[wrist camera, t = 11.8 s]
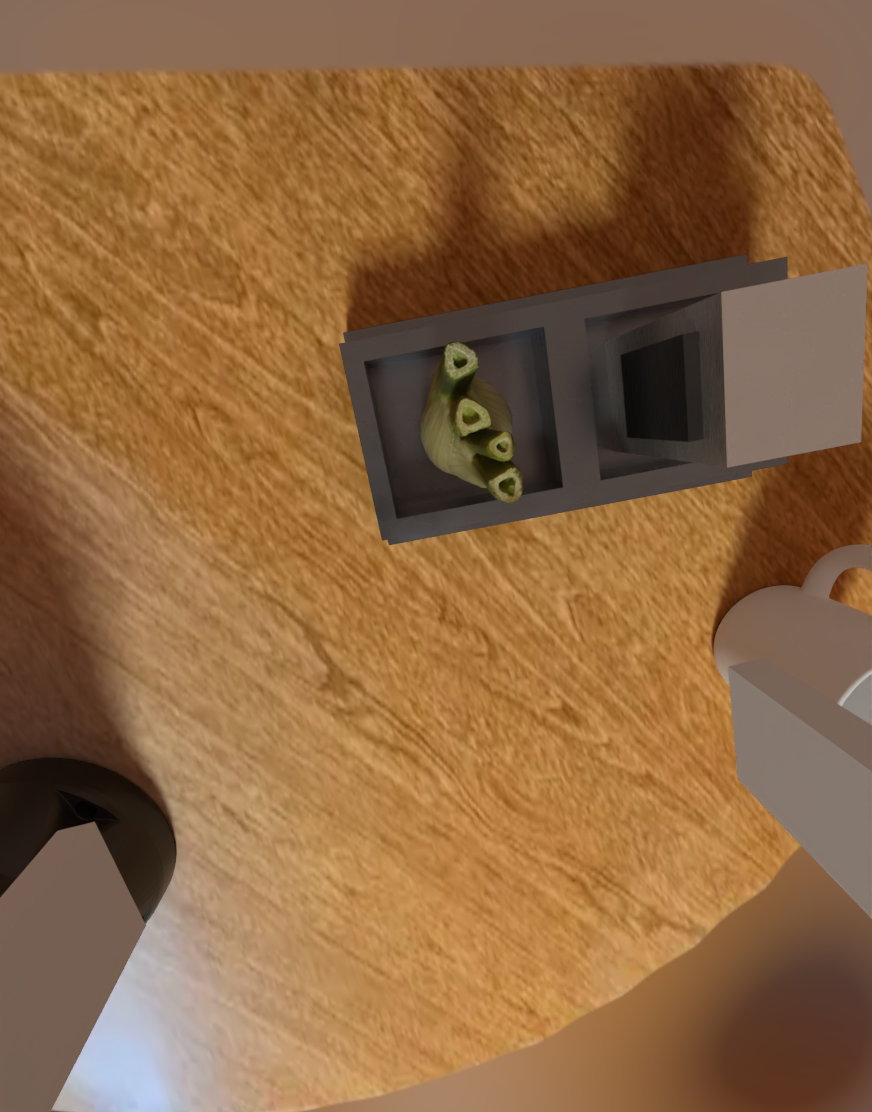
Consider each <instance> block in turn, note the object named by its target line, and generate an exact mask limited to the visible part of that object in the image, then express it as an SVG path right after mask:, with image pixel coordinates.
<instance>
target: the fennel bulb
mask: <svg viewBox="0 0 872 1112" xmlns="http://www.w3.org/2000/svg"><path fill="white" fill-rule="evenodd" d="M478 368H479V365H478V357H477V355H476V353H475V351H474V350H473V349H470V348H469V347H468V346H467V345H466V344H462V343H460V342H450V343H448V344H447V345H446V346H445V349H444V351H443V355H442V360H441V361H439V362H438V363H437V367H436V369H435V371H434V373H433V378H432V382H431V387H430V391H429V393H428V397H427V401H426V404H425V406H424V410H423V412H422V416H421V420H420V435H421V442H422V444H423V447H424V449H425V452H426V454H427V456H428V458H429V459H430V460H431V461H432V462H433V463H434V465H435V466H436V467H437V468H438V469H441V470H442V471H444V472H446V473H448V474H453V475H455V476H457V477H459V478H461V479H462V480H465V481H467V482H470V483H472V484H475V485H477V486H479V487H481V488H488V490H489V492H490V493H491V494H492V495H493V496H494V497H495V498H496V499H498V500H499V501H502V502H505V503H507V504H513V502H515V501H517V500H518V499H519V498H521V494H522V490H523V478H522V476H523V475H522V473H521V471H520V469H519V468H518V467H517V466H516V465H515V464H514V463H513V462H512V461H511V460H510V459H511V458H512V456H513V454H514V450H515V442H514V439H513V436H512V433H513V423H512V414H511V410H510V407H509V406H508V404H507V402H506V401H505V399H504V397H503V396H502V394H501V393H500V392H499V391H498V390H497V389H496V388H495V387H494V386H492V385H491V384H490V383H489V382H487V381H486V380H484V379H482V378H480V377H478V376H476V375H475V373H476V371H477V369H478Z"/></svg>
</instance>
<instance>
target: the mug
mask: <svg viewBox="0 0 872 1112" xmlns="http://www.w3.org/2000/svg"><path fill="white" fill-rule="evenodd" d="M853 567H859V568H865V569H868V570H870V571H872V546H871V545H849V546H843V547H840V548H837V549H834V550H832V551H831V552H829V553H827V554H825V555H824V556H823V557H821V558H820V559H819V560H818V561H817V562H816V563H815V564H814V565H813V566H812V568H811V569H810V571H809V572H808V574H807V576H806V578H805V580H804V582H803V585H802V587H797V586H789V585H781V586H772V587H767V588H763V589H760V590H758V591H755V592H753V593H751V594H749V595H747V596H746V597H744V598H743V599H741V600H740V601H738V602H737V603H736V604H735V605H734V606H733V607H732V608H731V609H730V610H729V611H728V612H727V614H726V615H725V617H724V618H723V619H722V621H721V623H720V625H719V627H718V629H717V632H716V635H715V639H714V647H713V649H714V659H715V664H716V666H717V669H718V671H719V673H720V675H721V676H722V678H723V679H724V680H725V682H726V683H727V684H728V685H729V674H728V666H732V665H736V664H740V663H744V662H748V661H753V660H757V659H761V658H766V659H767V660H769V661H771V662H772V663H774V664H775V665H777V666H779V667H780V668H782V669H783V670H785V671H786V672H788V673H790V674H791V675H793V676H794V677H796V678H798V679H799V680H801V681H802V682H804V683H805V684H807V685H809V686H810V687H812V688H813V689H815V690H817V691H818V692H820V693H821V694H823V695H824V696H826V697H828V698H829V699H831V700H832V701H834V702H836V703H837V704H839V705H840V706H842V707H843V708H845V709H847V710H848V711H850V712H851V713H853V714H855V715H856V716H858V717H859V718H861V719H862V720H864V721H866V722H867V723H869V724H870V725H872V616H871V615H869V614H866V613H864V612H862V611H859V610H857V609H854V608H852V607H850V606H847V605H845V604H842V603H840V602H838V601H835V600H833V599H830V598H829V595H830V592H831V589H832V586H833V584H834V582H835V581H836V579H837V577H838V576H839V575H840V574H841V573H842V572H843V571H844V570H846V569H849V568H853ZM729 686H730V685H729Z"/></svg>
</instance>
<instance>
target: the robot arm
mask: <svg viewBox="0 0 872 1112" xmlns="http://www.w3.org/2000/svg"><path fill="white" fill-rule="evenodd" d="M728 674H729V685H730V697H731V708H732V719H733V731H734V742H735V753H736V764H737V776H738V780H739V781H740V782H741V783H742V784H743V785H744V786H745V787H746V788H747V789H748V790H749V791H750V792H751V793H752V795H753V796H754V797H755V798H756V799H757V800H758V801H759V802H760V803H761V804H762V805H763V806H764V807H765V808H766V809H767V810H768V811H769V812H770V813H771V814H772V815H773V816H774V817H775V818H776V820H777V821H778V822H779V823H780V824H781V825H782V826H783V827H784V828H785V829H786V830H787V831H788V832H789V833H790V834H791V835H792V836H793V837H794V838H795V839H796V840H797V841H798V842H799V844H800V845H801V846H802V847H803V848H804V849H805V850H806V851H807V852H808V853H809V854H810V855H811V856H812V857H813V858H814V859H815V860H816V861H817V862H818V863H819V864H820V865H821V866H822V867H823V869H824V870H825V871H826V872H827V873H828V874H829V875H830V876H831V877H832V878H833V879H834V880H835V881H836V882H837V883H838V884H839V885H840V886H841V887H842V888H843V889H844V890H845V891H846V892H847V893H848V895H850V897H851V898H852V899H853V900H854V901H855V902H856V903H857V904H858V905H859V906H860V907H861V908H862V909H863V910H864V911H865V912H866V913H867V914H868V915H869V916H870V917H871V919H872V725H870V724H869V723H867V722H866V721H864V720H862V719H861V718H859V717H858V716H856V715H855V714H853V713H851V712H850V711H848V710H847V709H845V708H843V707H842V706H840V705H839V704H837V703H836V702H834V701H832V700H831V699H829V698H828V697H826V696H824V695H823V694H821V693H820V692H818V691H817V690H815V689H813V688H812V687H810V686H809V685H807V684H805V683H804V682H802V681H801V680H799V679H798V678H796V677H794V676H793V675H791V674H790V673H788V672H786V671H785V670H783V669H782V668H780V667H779V666H777V665H775V664H774V663H772V662H771V661H769V660H767V659H766V658H761V659H757V660H753V661H748V662H744V663H740V664H736V665H732V666H728ZM175 857H176V854H175V845H174V840H173V836H172V833H171V830H170V828H169V826H168V823H167V822H166V820H165V818H164V816H163V815H162V813H161V812H160V810H159V809H158V808H157V806H156V805H155V804H154V803H153V802H152V800H151V799H150V798H149V797H148V796H147V795H146V794H144V793H143V792H142V791H141V790H140V789H139V788H137V787H136V786H135V785H133V784H132V783H130V782H129V781H127V780H126V779H124V778H122V777H121V776H119V775H117V774H115V773H113V772H111V771H108V770H106V769H104V768H101V767H98V766H95V765H92V764H89V763H85V762H80V761H75V760H68V759H56V758H47V759H34V760H28V761H23V762H19V763H16V764H12V765H10V766H7V767H5V768H2V769H0V1112H50V1111H51V1109H52V1107H53V1105H54V1103H55V1101H56V1100H57V1098H58V1096H59V1094H60V1092H61V1090H62V1088H63V1086H64V1084H65V1082H66V1080H67V1078H68V1076H69V1074H70V1072H71V1070H72V1068H73V1066H74V1064H75V1063H76V1061H77V1059H78V1057H79V1055H80V1053H81V1051H82V1049H83V1047H84V1045H85V1043H86V1041H87V1039H88V1037H89V1035H90V1033H91V1031H92V1029H93V1027H94V1025H95V1024H96V1022H97V1020H98V1018H99V1016H100V1014H101V1012H102V1010H103V1008H104V1006H105V1004H106V1002H107V1000H108V998H109V996H110V994H111V992H112V990H113V988H114V987H115V985H116V983H117V981H118V979H119V977H120V975H121V973H122V971H123V969H124V967H125V965H126V963H127V961H128V959H129V957H130V955H131V953H132V951H133V949H134V948H135V946H136V944H137V942H138V940H139V938H140V936H141V934H142V932H143V930H144V928H145V926H146V925H145V924H146V923H147V921H148V920H149V919H150V917H151V916H152V914H153V913H154V911H155V909H156V908H157V906H158V904H159V902H160V900H161V898H162V897H163V895H164V893H165V891H166V889H167V887H168V885H169V883H170V881H171V879H172V876H173V872H174V868H175Z"/></svg>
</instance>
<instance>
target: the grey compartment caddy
mask: <svg viewBox="0 0 872 1112" xmlns="http://www.w3.org/2000/svg"><path fill="white" fill-rule="evenodd" d="M866 291H867V264H863V265H858V266H853V267H848V268H843V269H838V270H832V271H827V272H822V273H817V274H812V275H807V276H801V277H796V278H791V279H787V257H784V258H779V259H773V260H768V261H763V262H758V263H753V264H748V260H747V254H745V255H740V256H735V257H730V258H724V259H719V260H714V261H709V262H704V263H699V264H694V265H688V266H683V267H678V268H673V269H668V270H663V271H658V272H652V273H647V274H642V275H637V276H632V277H627V278H622V279H616V280H611V281H606V282H601V283H596V284H591V285H586V286H580V287H575V288H570V289H565V290H560V291H555V292H550V293H544V294H539V295H534V296H529V297H524V298H519V299H514V300H508V301H503V302H498V303H493V304H488V305H483V306H478V307H472V308H467V309H462V310H457V311H452V312H447V313H442V314H436V315H431V316H426V317H421V318H416V319H411V320H406V321H400V322H395V323H390V324H385V325H380V326H375V327H370V328H364V329H359V330H354V331H349V332H344V333H343V334H344V339H345V343H341V344H339V346H340V350H341V355H342V360H343V364H344V369H345V373H346V378H347V382H348V387H349V391H350V396H351V401H352V405H353V410H354V414H355V419H356V423H357V428H358V433H359V437H360V442H361V446H362V451H363V455H364V460H365V465H366V469H367V474H368V478H369V483H370V487H371V492H372V496H373V501H374V506H375V510H376V515H377V519H378V524H379V528H380V533H381V538H382V540H388V543H389V545H392V544H398V543H403V542H408V541H414V540H419V539H424V538H430V537H435V536H440V535H445V534H451V533H456V532H461V531H467V530H472V529H477V528H482V527H488V526H493V525H498V524H504V523H509V522H514V521H520V520H525V519H530V518H535V517H541V516H546V515H551V514H557V513H562V512H567V511H572V510H578V509H583V508H588V507H594V506H599V505H604V504H610V503H615V502H620V501H625V500H631V499H636V498H641V497H647V496H652V495H657V494H662V493H668V492H673V491H678V490H684V489H689V488H694V487H700V486H705V485H710V484H715V483H721V482H726V481H731V480H737V479H742V478H747V477H752V471H753V470H758V469H763V468H768V467H774V466H779V465H784V464H788V456H791V455H796V454H802V453H807V452H812V451H817V450H823V449H828V448H833V447H839V446H844V445H849V444H854V443H860V442H861V431H862V403H863V375H864V347H865V319H866ZM450 342H460V343H462V344H466V345H467V346H468V347H469V348H470V349H473V350H474V351H475V353H476V355H477V357H478V365H479V368H478V369H477V371H476V373H475V375H476V376H478V377H480V378H482V379H484V380H486V381H487V382H489V383H490V384H491V385H492V386H494V387H495V388H496V389H497V390H498V391H499V392H500V393H501V394H502V396H503V397H504V399H505V401H506V402H507V404H508V406H509V407H510V410H511V414H512V423H513V433H512V436H513V439H514V442H515V450H514V454H513V456H512V458H511V459H510V460H511V461H512V462H513V463H514V464H515V465H516V466H517V467H518V468H519V469H520V471H521V473H522V475H523V476H522V478H523V490H522V494H521V498H519V499H518V500H517V501H515V502H513V504H507V503H505V502H502V501H499V500H498V499H496V498H495V497H494V496H493V495H492V494H491V493H490V492H489V490H488V488H481V487H479V486H477V485H475V484H472V483H470V482H467V481H465V480H462V479H461V478H459V477H457V476H455V475H453V474H448V473H446V472H444V471H442V470H441V469H438V468H437V467H436V466H435V465H434V463H433V462H432V461H431V460H430V459H429V458H428V456H427V454H426V452H425V449H424V447H423V444H422V442H421V435H420V420H421V416H422V412H423V410H424V406H425V404H426V401H427V397H428V393H429V391H430V387H431V382H432V378H433V373H434V371H435V369H436V367H437V363H438V362H439V361H441V360H442V355H443V351H444V349H445V346H446V345H447V344H448V343H450Z"/></svg>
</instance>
